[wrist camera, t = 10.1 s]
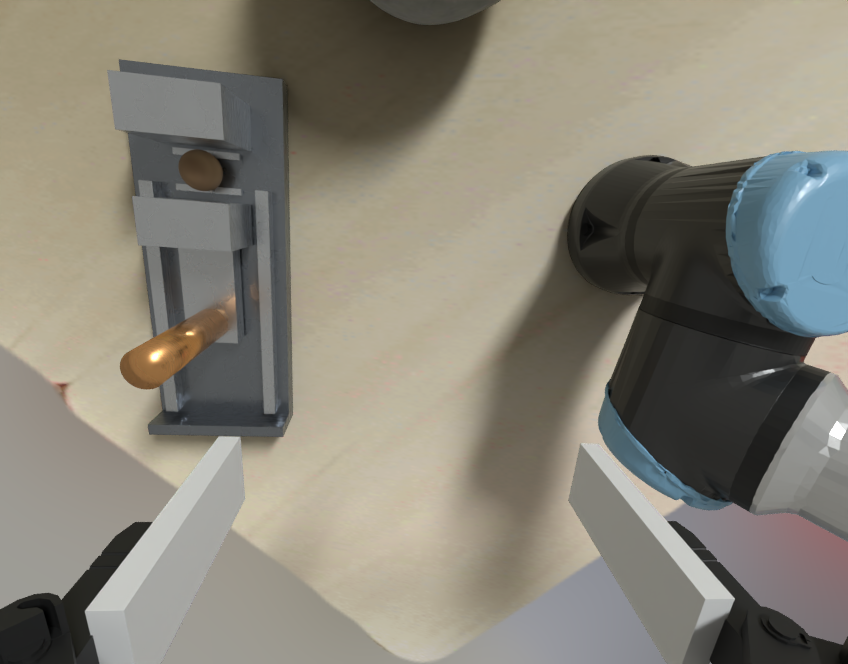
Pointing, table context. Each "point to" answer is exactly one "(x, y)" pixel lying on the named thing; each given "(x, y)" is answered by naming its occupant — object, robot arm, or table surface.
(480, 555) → the table surface
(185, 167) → the walnut
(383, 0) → the bowl
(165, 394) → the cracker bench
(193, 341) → the ram handle
